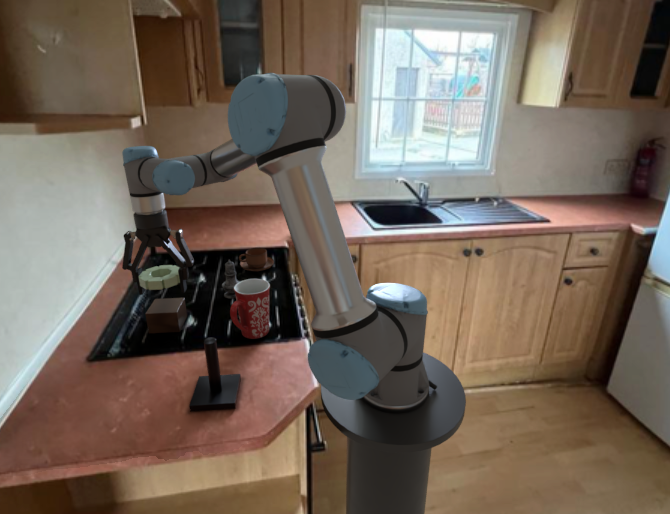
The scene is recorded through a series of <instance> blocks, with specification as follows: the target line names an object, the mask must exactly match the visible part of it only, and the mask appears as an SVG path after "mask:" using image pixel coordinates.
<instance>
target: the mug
mask: <svg viewBox="0 0 670 514" xmlns="http://www.w3.org/2000/svg"><path fill="white" fill-rule="evenodd" d="M270 288H271V284H270V282H269V281H267V280H266V279H261V278H248V279H244V280H240V282H239V283H237V284H236V285H235V286H234V291H235V295H236V298H235V299H236V300H235V301H233V303H232V304H231V306H230V310H229V315H230V319H231V321H232V323H233V324H234V326H235V327H237V328H238V329H239V330H240V331H241V335H242V336H243V338H246V339H250V340H257V339H260V338H263V337H265V336H267V335H268V334H269V333H270ZM238 318H239V319H238Z"/></svg>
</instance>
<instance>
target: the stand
mask: <svg viewBox="0 0 670 514" xmlns="http://www.w3.org/2000/svg"><path fill="white" fill-rule="evenodd" d="M203 347H204V354H205V361H206V369H207V375H198V378H197V381H196V383H195V387H194V390H193V393H192V396H191V399H190V402H189V405H188V409H189V412H190V413H191V412H193V413H194V412H206V411H222V410H235V409H237V403H238V397H239V393H240V392H239V391H240V387H241V381H242V376H241V373H230V374H221V369H220V368H221V367H220V362H219V361H220V359H219V350H218V343H217V338H216V337H213V336H211V337H210V336H209V337H207V338H205V339H204V340H203Z"/></svg>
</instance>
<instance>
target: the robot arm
mask: <svg viewBox="0 0 670 514" xmlns="http://www.w3.org/2000/svg"><path fill="white" fill-rule="evenodd" d="M346 116H347V104H346V101H345V98H344V96H343V93H342V91H341V90H340V88H339V87H338V86H337V85H336V84H335V83H333V81H332V80H330V79H328V78H326V77H324V76H321V75H316V74H280V73H274V72H265V73H264V74H252V75H251V74H250V75H248V76H246V77H244V78H243V79H242V80H240V81H239V82H238V84H236V86H235V87H234V89H233V91H232V93H231V95H230V102H229V103H228V107H227V126H228V131H229V134H230V137H231V139H229V140H227V141H225V142H224V143H222V144H220V145H219V146H216V147H215V148H213V149H211V150H210V151H207V152H205V153H198V154H191V155H183V156H178V157H176V156H175V157H171V158H160V157H159V154H158V151H157V149H156V147H155V146H152V145H138V146H137V145H135V146H127V147H126V148H124V149H123V150H122V160H123V161H122V162H123V164H122V166H123V168H124V174H125V178H126V183H127V188H128V192H129V199H130V204H131V211H132V212H134V213H133V221H134V226H135V231H132V230H127V231H126V232H125V233H124V234H123V239H124V249H123V250H124V251H123V259H122V266H121V268H122V269H123V270H124V271H125V270H126V271H127V270H128V271H130V273H131V277H132V281H133V283H136V284H137V290H138V294H139V296H143V295H144V293H145V292H146V289H145V288H143V287H141V286H140V282H139V277H138V276H139V275H140V274H141V273H142V272H143V267H140V264H141V262H142V259H143V257H144V255H145V253H146V250H147V248H154V247H155V248H162V249H163V250H165V251H166V252H167V254H168V255H169V256H170V257H171V259H173V261H174V262H175V263H176V264H177V266H178V267H179V270H178V273H179V279H180V283H179V285H180V292H181V293H182V294H185V293H186V291H187V289H188V285H187V280H188V279H189V277H190V273H189V268H192V266H193V265H194V263H195V259H194V257H193V255H192V253H191V251H190V248H189V246H188V245H187V241H186V240H185V237H184V230H183V229H182V228H179V229H171V228H170V226H169V219H168V212H167V210H166V200H165V195H169V196H183V195H187V193H189V192H190V191H191V190H192V189H196V188H200V187H204V186H208V185H213V184H217V183H224V182H225V183H226V182H228V181H231V180H234V179H235V178H237V177H238V174H240V173H242V172H244V171H246V170H249V169H250V168H253V167H255V166H257V169H258V171H259V172H262V173H264V174H266V175H268V176H269V177H270V178H271V180H272V184H273V187H274V190H275V193H276V196H277V199H278V202H279V204H280V207H281V208H280V209H281V211H282V214H283V217H284V220H285V223H286V226H287V229H288V232H289V235H290V238H291V241H292V244H293V246H294V247H293V248H294V250H295V252H296V256H297V258H298V262H299V265H300V268H301V270H302V274H303V276H304V280H305V282H306V286H307V289H308V292H309V295H310V299H311V301H312V304H313V306H314V311H315V313H314V316H313V318H312V321H311V323H310V327H311V329H312V332H313V335H314V338H315V341H314V342H313V343H311V345H310V347H309V350H308V353H307V363H308V367H309V369H310V371H311V374H312V375H313V376H314V378H315V379H316V381H317V382H318V383H319V384H320V386H321V385H322V386H323V387H324V388H326V389H327V390H328V391H329V392H330V393H332V394H334V395H336V396H338V397H340V398H343V399H347V400H356V399H360V398H361V399H362V400H363V401H364V402H365V403H366V404H367V405H369V406H370V407H372V408H374V409H376V410H379V411H382V412H386V413H396V414H398V413H407V412H411V411H414V410H416V409H418V408H419V407H421V406H422V405H423V404H424V403H425V402H426V400H427V398H428V394H429V386H430V387H431V388H433V389H434V390H435V389H436V388H437V385H435V384H434V383H432V382H431V381H430V380H428V377H427V373H426V370H425V366H424V363H423V352H424V349H425V338H426V328H427V318H428V314H429V311H428V298H427V296H426V295H425V294H424V293H423V292H422V291H421V290H419V289H418V288H415V287H414V286H411V285H407V284H404V283H397V282H379V283H376V284H373V285H372V286H370V287H369V288H368V289H367V292H366V295H364V292H363V289H362V287H361V286H362V285H361V282H360V280H359V275H358V273H357V271H356V267H355V264H354V261H353V257H352V254H351V251H350V248H349V245H348V242H347V238H346V235H345V232H344V229H343V226H342V223H341V219H340V216H339V213H338V209H337V207H336V204H335V200H334V197H333V193H332V191H331V188H330V185H329V182H328V178H327V175H326V171H325V169H324V166H323V163H322V160H323V157H324V155H325V153H326V151H327V149H328V148H327V144H326V142H328V141H330V140H332V139H333V138H335V137H336V136H337V135H338V134H339V133H340V132H341V130H342V128H343V127H344V124H345V122H346V121H345V120H346V118H347V117H346ZM171 236H172V238H173V239H174V240H175V241H176V244H177V247H178V248H179V250H180V252H181V253H180V252H179V250H178V249H177V248H176V247H175V245H174V244H173V242H172V241H171V239H170V237H171ZM136 238H137V239H138V240H139V241H140V245H139V247H138V250H137V253H136V255H135V257H134V259H133V249H134V242H135V240H136ZM132 259H133V262H132Z"/></svg>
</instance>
